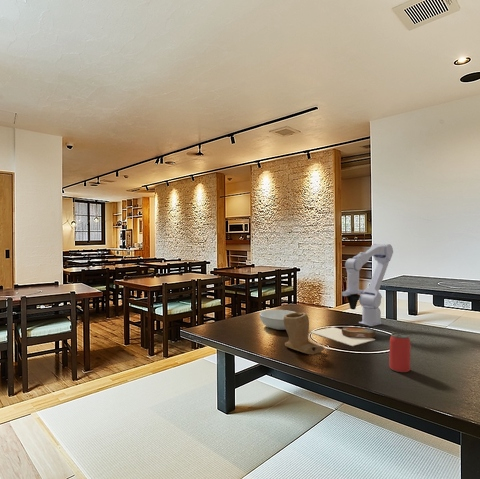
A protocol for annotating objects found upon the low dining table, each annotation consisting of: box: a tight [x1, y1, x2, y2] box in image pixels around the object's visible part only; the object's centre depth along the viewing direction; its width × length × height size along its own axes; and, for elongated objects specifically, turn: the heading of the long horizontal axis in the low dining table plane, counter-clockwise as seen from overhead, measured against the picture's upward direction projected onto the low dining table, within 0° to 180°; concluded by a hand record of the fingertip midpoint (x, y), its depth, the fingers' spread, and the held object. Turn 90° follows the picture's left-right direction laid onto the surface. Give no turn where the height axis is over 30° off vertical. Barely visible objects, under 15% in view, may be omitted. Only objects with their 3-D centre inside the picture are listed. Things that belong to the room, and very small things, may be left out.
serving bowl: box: [259, 309, 295, 331], centre depth 171 cm, size 21×21×7 cm
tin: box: [341, 326, 376, 339], centre depth 157 cm, size 15×3×8 cm
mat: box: [310, 326, 376, 347], centre depth 157 cm, size 16×24×1 cm, turn 34°
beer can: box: [388, 332, 412, 373], centre depth 118 cm, size 7×7×12 cm
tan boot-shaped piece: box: [284, 311, 325, 355], centre depth 137 cm, size 15×12×15 cm
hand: (352, 309), depth 172 cm, fingers closed
